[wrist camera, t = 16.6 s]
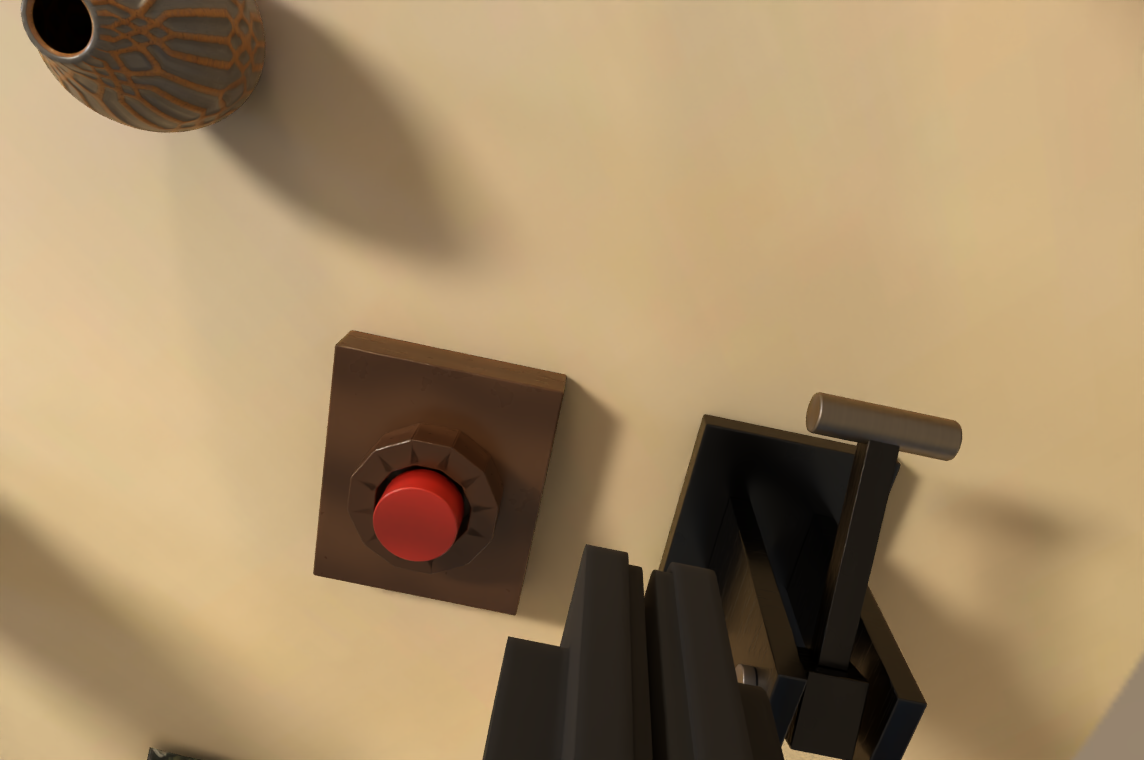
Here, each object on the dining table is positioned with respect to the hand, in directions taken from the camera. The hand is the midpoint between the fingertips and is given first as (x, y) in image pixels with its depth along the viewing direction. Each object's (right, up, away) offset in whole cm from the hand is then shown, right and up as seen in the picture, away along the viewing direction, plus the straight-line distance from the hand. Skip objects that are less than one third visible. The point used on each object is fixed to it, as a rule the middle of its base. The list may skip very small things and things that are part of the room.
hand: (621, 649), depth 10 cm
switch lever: (+9, -3, +19) cm, 21 cm away
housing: (-7, -1, +28) cm, 28 cm away
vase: (-15, +17, +21) cm, 31 cm away
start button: (-7, -2, +24) cm, 25 cm away
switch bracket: (+9, -4, +28) cm, 30 cm away
